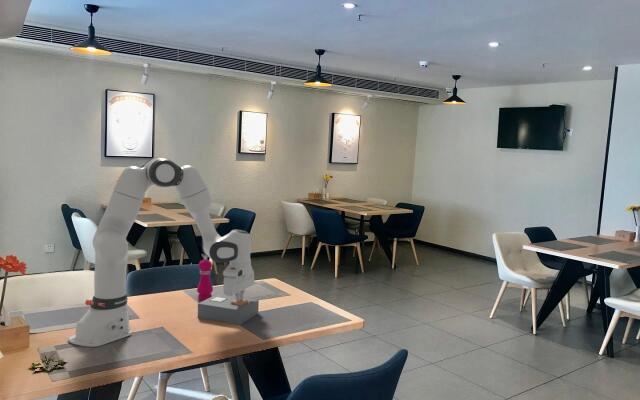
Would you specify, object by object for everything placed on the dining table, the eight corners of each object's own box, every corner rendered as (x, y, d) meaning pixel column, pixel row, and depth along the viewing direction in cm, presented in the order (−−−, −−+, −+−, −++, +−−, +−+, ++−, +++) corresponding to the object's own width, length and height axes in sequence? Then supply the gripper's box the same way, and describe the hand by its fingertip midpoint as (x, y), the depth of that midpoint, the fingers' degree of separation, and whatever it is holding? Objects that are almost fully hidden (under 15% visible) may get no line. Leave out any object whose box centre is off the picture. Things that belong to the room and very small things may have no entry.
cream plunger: (220, 313, 216) (220, 301, 215) (210, 311, 218) (210, 300, 217) (226, 309, 221) (226, 298, 220) (216, 308, 222) (216, 297, 222)
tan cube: (241, 314, 212) (241, 303, 212) (230, 313, 214) (231, 301, 214) (247, 311, 217) (247, 300, 217) (236, 309, 219) (237, 298, 218)
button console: (240, 324, 207) (240, 310, 206) (197, 317, 213) (197, 303, 213) (258, 313, 222) (258, 299, 221) (218, 306, 228) (218, 293, 228)
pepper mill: (210, 301, 236) (211, 258, 234) (195, 300, 236) (195, 257, 235) (214, 296, 244) (214, 255, 242) (199, 296, 244) (199, 254, 242)
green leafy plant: (26, 363, 165) (26, 349, 165) (67, 357, 171) (67, 343, 171) (26, 378, 155) (26, 364, 154) (70, 371, 161) (70, 357, 160)
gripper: (245, 262, 225) (244, 293, 226) (220, 272, 205) (220, 306, 207) (258, 264, 222) (257, 295, 224) (234, 274, 203) (234, 308, 205)
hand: (239, 300), depth 215 cm, fingers closed, pressing on tan cube
